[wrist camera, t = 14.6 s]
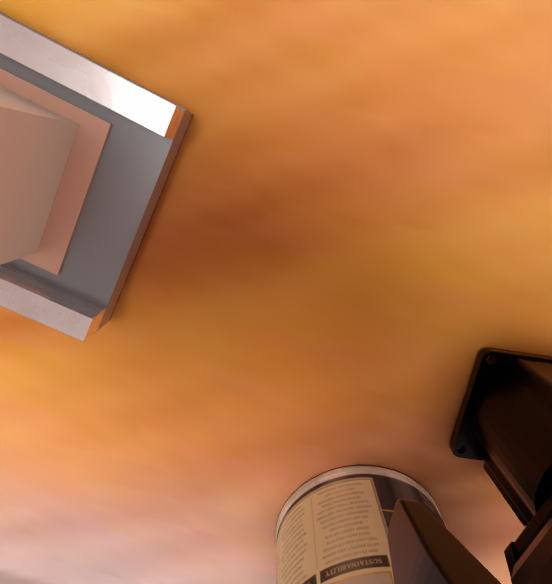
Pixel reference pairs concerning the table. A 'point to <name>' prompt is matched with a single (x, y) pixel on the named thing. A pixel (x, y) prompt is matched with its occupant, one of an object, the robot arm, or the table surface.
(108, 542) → the table surface
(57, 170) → the cream block
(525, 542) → the robot arm
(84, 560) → the table surface
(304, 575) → the coffee can
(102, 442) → the table surface
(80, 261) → the display base
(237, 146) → the table surface
